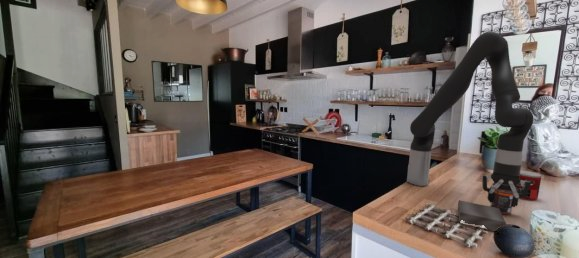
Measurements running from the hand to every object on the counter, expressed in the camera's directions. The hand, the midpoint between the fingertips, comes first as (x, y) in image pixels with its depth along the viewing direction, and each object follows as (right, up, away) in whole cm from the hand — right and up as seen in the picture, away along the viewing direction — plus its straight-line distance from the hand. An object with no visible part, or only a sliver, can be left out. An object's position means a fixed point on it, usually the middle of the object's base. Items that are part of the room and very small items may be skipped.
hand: (501, 204), depth 94 cm
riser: (-14, -4, -7) cm, 16 cm away
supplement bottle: (0, -3, 0) cm, 3 cm away
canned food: (+23, -2, +15) cm, 28 cm away
